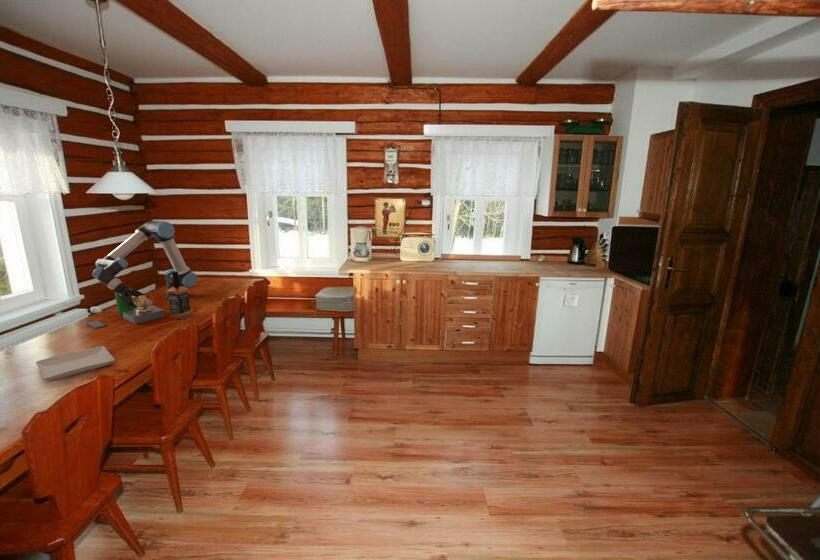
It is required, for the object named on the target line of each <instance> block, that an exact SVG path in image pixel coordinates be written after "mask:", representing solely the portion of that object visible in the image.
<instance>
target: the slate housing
mask: <svg viewBox="0 0 820 560" xmlns="http://www.w3.org/2000/svg"><path fill="white" fill-rule="evenodd" d="M147 307H149V308H151V310H150V311H148V312H144V313H137V312H136V310H137V309H135V308H134V309H133V310H129V311H124V312H123V314H122V318H123V319H124V320H126V321H128V322H130V323H132V324H135V325H136V324H141V323H146V322H149V321H150V322H151V321H153V320H158V319H161V318H165V317H166V312H165V309H163V308H162V307H161V308H160V307H158V306H155V305H153V304H151V305H147Z"/></svg>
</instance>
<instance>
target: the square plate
mask: <svg viewBox="0 0 820 560" xmlns="http://www.w3.org/2000/svg"><path fill="white" fill-rule="evenodd" d="M115 360H116V359H115V358H114V356H113V355H112V354H111V353H110V352H109V351H108V349H107V348H106V346H104V345H100V346H96V347H91V348H87V349H81V350H77V351H73V352H68V353H64V354H59V355H57V356H53V357H52V356H51V357H48V358H45V359H44V358H43V359H40V360H38V361H35V364H36V366H37V368H38V370H39V373H40V377H41V379H42V380H45V381H54V380H56V379H63V378H67V377H71V376H74V375H77V374H81V373H86V372H88V371H92V370H97V369H99V368H102V367H105V366H108V365H111V364H113V363H114V362H115Z"/></svg>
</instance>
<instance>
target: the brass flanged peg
mask: <svg viewBox="0 0 820 560" xmlns="http://www.w3.org/2000/svg"><path fill="white" fill-rule="evenodd" d="M146 298H147V295H146V294H145V295H141V296H137V297H136V300H137V302H136V303H137V304H138V305H139V306H141V307H142V308H143V309H142V311H141V312H140V311H138V310H136V312H137V313H144V312H148V311H150V310H151V308H149V307H147V306H148V304H147V301H146Z"/></svg>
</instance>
